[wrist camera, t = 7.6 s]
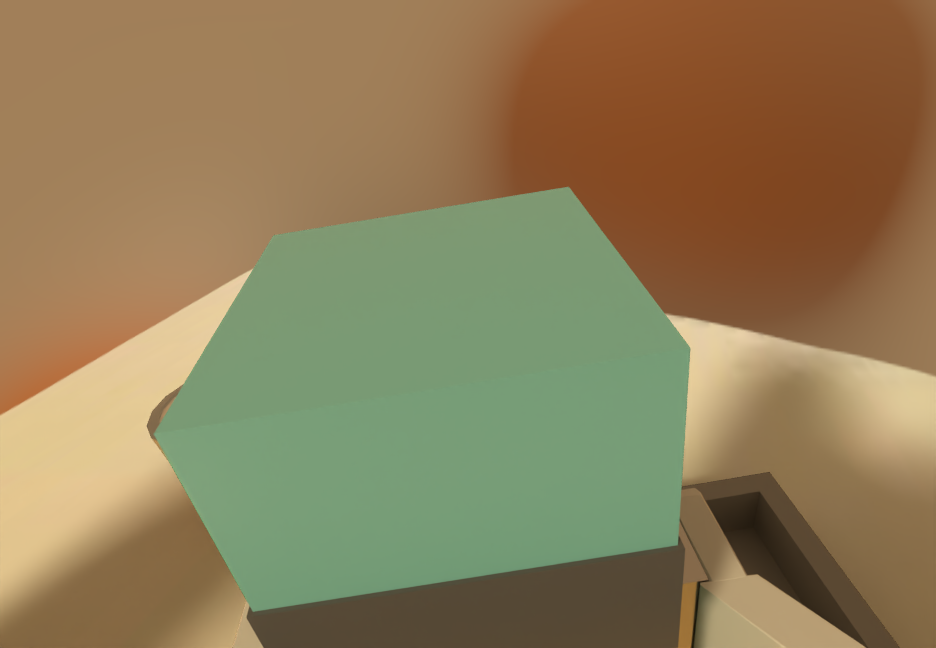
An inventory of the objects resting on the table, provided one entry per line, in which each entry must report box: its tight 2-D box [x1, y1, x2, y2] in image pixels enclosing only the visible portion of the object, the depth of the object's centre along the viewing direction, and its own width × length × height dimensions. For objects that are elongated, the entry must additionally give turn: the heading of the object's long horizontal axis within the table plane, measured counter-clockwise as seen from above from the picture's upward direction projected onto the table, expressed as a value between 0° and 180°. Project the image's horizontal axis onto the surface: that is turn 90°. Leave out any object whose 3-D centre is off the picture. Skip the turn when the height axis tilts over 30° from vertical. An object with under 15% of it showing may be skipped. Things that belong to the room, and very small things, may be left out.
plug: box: [154, 187, 690, 648], centre depth 9 cm, size 4×4×13 cm
